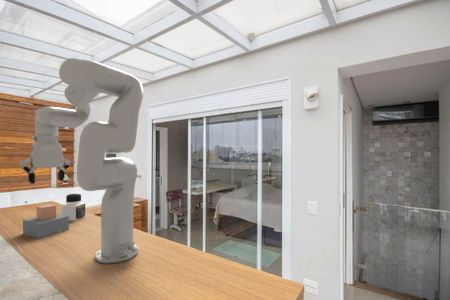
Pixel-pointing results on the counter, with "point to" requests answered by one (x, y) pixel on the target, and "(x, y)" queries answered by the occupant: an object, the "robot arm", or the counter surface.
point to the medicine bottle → (73, 207)
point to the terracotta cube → (46, 212)
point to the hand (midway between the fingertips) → (47, 181)
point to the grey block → (45, 226)
